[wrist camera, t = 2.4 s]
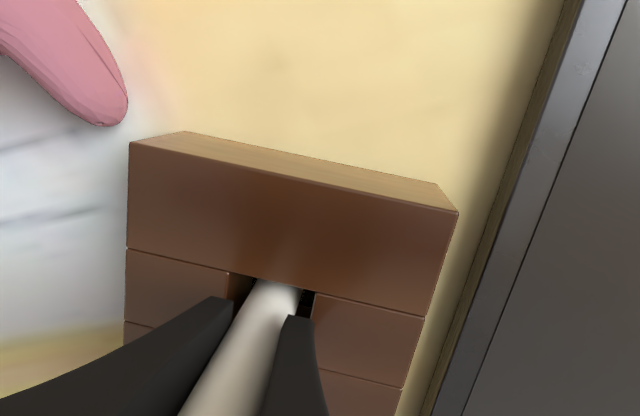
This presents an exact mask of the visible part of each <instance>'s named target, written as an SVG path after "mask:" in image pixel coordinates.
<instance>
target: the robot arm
mask: <svg viewBox="0 0 640 416" xmlns="http://www.w3.org/2000/svg"><path fill="white" fill-rule="evenodd" d="M233 303H234V301H231V300H227V299H223V298H219V297H214V296H210V297H208V298H206V299H205V300H203V301H201V302H199V303H198V304H196V305H194V306H193V307H191V308H189V309H188V310H186V311H184V312H183V313H181V314H179V315H178V316H176V317H174V318H173V319H171V320H169V321H168V322H166V323H164V324H162V325H161V326H159V327H157V328H156V329H154V330H152V331H150V332H149V333H147V334H145V335H143V336H141V337H140V338H138V339H136V340H134V341H132V342H130V343H128V344H126V345H124V346H122V347H120V348H118V349H116V350H114V351H113V352H111V353H109V354H107V355H105V356H103V357H101V358H99V359H97V360H95V361H92V362H90V363H88V364H86V365H84V366H82V367H79V368H77V369H75V370H73V371H70V372H68V373H65V374H63V375H61V376H58V377H56V378H54V379H51V380H49V381H47V382H44V383H42V384H39V385H37V386H34V387H31V388H29V389H26V390H23V391H20V392H18V393H15V394H12V395H9V396H7V397H4V398H1V399H0V416H177V415H178V413H179V412H180V410H181V408H182V407H183V405H184V403H185V402H186V400H187V398H188V396H189V395H190V393H191V391H192V390H193V388H194V386H195V385H196V383H197V381H198V380H199V378H200V376H201V375H202V373H203V371H204V369H205V368H206V366H207V364H208V363H209V361H210V359H211V358H212V356H213V354H214V353H215V351H216V349H217V348H218V346H219V344H220V342H221V341H222V339H223V337H224V336H225V334H226V332H227V331H228V329H229V327H230V326H231V318H232V311H233ZM314 328H315V324H314V322H313V321H312V319H307V318H303V317H299V316H295V315H290V314H288V315H287V317H286V319H285V321H284V324H283V326H282V328H281V331H280V336H279V340H278V345H277V349H276V354H275V358H274V363H273V367H272V372H271V376H270V380H269V385H268V389H267V393H266V397H265V400H264V404H263V407H262V410H261V412H260V415H259V416H330V415H329V412H328V408H327V404H326V401H325V397H324V393H323V389H322V384H321V380H320V375H319V370H318V365H317V359H316V351H315V341H314Z"/></svg>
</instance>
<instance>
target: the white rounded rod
mask: <svg viewBox="0 0 640 416" xmlns="http://www.w3.org/2000/svg"><path fill="white" fill-rule="evenodd" d="M302 292H303V288H298V287H294V286H290V285H285V284H281V283H277V282H272V281H268V280H264V279H259V278H258V280H257V282H256V283H255V285H254V287H253V289H252V290H251V292H250V294H249V295H248V297H247V299H246V300H245V302H244V304H243V305H242V307H241V309H240V310H239V312H238V314H237V316H236V317H235V319H234V321H233V322H232V324H231V326H230V327H229V329H228V331H227V332H226V334H225V336H224V337H223V339H222V341H221V342H220V344H219V346H218V348H217V349H216V351H215V353H214V354H213V356H212V358H211V359H210V361H209V363H208V364H207V366H206V368H205V369H204V371H203V373H202V375H201V376H200V378H199V380H198V381H197V383H196V385H195V386H194V388H193V390H192V391H191V393H190V395H189V396H188V398H187V400H186V402H185V403H184V405H183V407H182V408H181V410H180V412H179V413H178V415H177V416H259V415H260V412H261V410H262V407H263V404H264V400H265V397H266V393H267V389H268V385H269V380H270V376H271V372H272V367H273V363H274V358H275V354H276V349H277V345H278V340H279V336H280V331H281V328H282V326H283V324H284V321H285V319H286V317H287V315H288V314H290V315H295V313H296V310H297V307H298V304H299V301H300V298H301V295H302Z"/></svg>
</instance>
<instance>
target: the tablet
mask: <svg viewBox="0 0 640 416" xmlns="http://www.w3.org/2000/svg"><path fill="white" fill-rule="evenodd" d="M419 416H640V0H566V1H565V4H564V6H563V9H562V12H561V15H560V18H559V21H558V23H557V26H556V29H555V32H554V35H553V38H552V41H551V43H550V46H549V49H548V52H547V55H546V58H545V60H544V63H543V66H542V69H541V72H540V75H539V77H538V80H537V83H536V86H535V89H534V92H533V94H532V97H531V100H530V103H529V106H528V109H527V111H526V114H525V117H524V120H523V123H522V126H521V128H520V131H519V134H518V137H517V140H516V143H515V146H514V148H513V151H512V154H511V157H510V160H509V163H508V165H507V168H506V171H505V174H504V177H503V180H502V182H501V185H500V188H499V191H498V194H497V197H496V199H495V202H494V205H493V208H492V211H491V214H490V216H489V219H488V222H487V225H486V228H485V231H484V233H483V236H482V239H481V242H480V245H479V248H478V251H477V253H476V256H475V259H474V262H473V265H472V268H471V270H470V273H469V276H468V279H467V282H466V285H465V287H464V290H463V293H462V296H461V299H460V302H459V304H458V307H457V310H456V313H455V316H454V319H453V321H452V324H451V327H450V330H449V333H448V336H447V338H446V341H445V344H444V347H443V350H442V353H441V356H440V358H439V361H438V364H437V367H436V370H435V373H434V375H433V378H432V381H431V384H430V387H429V390H428V392H427V395H426V398H425V401H424V404H423V407H422V409H421V412H420V415H419Z"/></svg>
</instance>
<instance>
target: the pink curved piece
mask: <svg viewBox="0 0 640 416" xmlns="http://www.w3.org/2000/svg"><path fill="white" fill-rule="evenodd" d="M0 55H7V56H9V57H10V58H11V59H12V60H13V61H15V62H16V63H17V64H18V65H20V66H21V67H22V68H23V69H24V70H25V71H26V72H27V73H28V74H29V75H30V76H31V77H32V78H33V79H34V80H35V81H36V82H37V83H38V84H39V85H40V86H41V87H43V88H44V89H45V90H46V91H47V92H48V93H49V94H50V95H51V96H52V97H53V98H54V99H55V100H56V101H58V102H59V103H60V104H61V105H62V106H64V107H65V108H66V109H67V110H68V111H70V112H71V113H73V114H75V115H77V116H78V117H80V118H82V119H83V120H85V121H87V122H89V123H91V124H93V125H96V126H103V127H109V126H114V125H116V124H118V123H120V122H121V121H122V119H123V118H124V116H125V114H126V111H127V108H128V98H127V92H126V88H125V85H124V82H123V79H122V76H121V73H120V70H119V68H118V66H117V64H116V62H115V59H114V57H113V55H112V53H111V52H110V50H109V48H108V46H107V45H106V43H105V41H104V40H103V38H102V36H101V34H100V33H99V31H98V30H97V29H96V27H95V26H94V25H93V23H92V22H91V20H90V19H89V18H88V16H87V15H86V14H85V12H84V11H83V9H82V8H81V7H80V5H79V4H78V3H77V1H76V0H0Z"/></svg>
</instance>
